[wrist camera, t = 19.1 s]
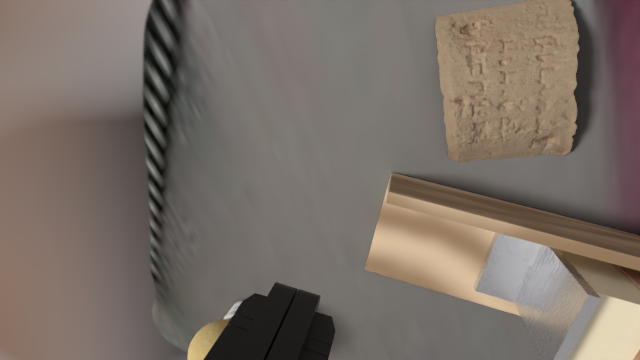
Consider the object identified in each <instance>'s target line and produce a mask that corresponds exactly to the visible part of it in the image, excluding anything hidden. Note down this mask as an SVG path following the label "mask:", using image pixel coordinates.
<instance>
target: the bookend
mask: <svg viewBox="0 0 640 360" xmlns="http://www.w3.org/2000/svg"><path fill="white" fill-rule="evenodd" d="M474 289H475V291H476V292H480V293H483V294H487V295H490V296H493V297H497V298H500V299H504V300H507V301H510V302H514V303H515V305H516V307H517V310H518V312H519V314H520V316H521V318H522V320H523V322H524V324H525V326H526V329H527V331H528V333H529V335H530V337H531V339H532V341H533V343H534V345H535V348H536V350H537V352H538V354H539V356H540V358H541V360H567V359H568V358H569V356H570V354H571V352H572V350H573V349H574V347H575V345H576V343H577V341H578V340H579V338H580V336H581V334H582V332H583V330H584V329H585V327H586V325H587V323H588V321H589V320H590V318H591V316H592V314H593V312H594V311H595V309H596V307H597V305H598V303H599V302H600V300H601V298H600V296H599V295H598V294H597V293H596V292H595V291H594V289H593V288H592V287H591V286H590V285H589V284H588V283H587V281H586V280H585V279H584V278H583V277H582V276H581V274H580V273H579V272H578V271H577V270H576V269H575V267H574V266H573V265H572V264H571V263H570V262H569V261H568V259H567V258H566V257H565V256H564V255H563V254H562V252H561V251H560V250H559V249H556V248H552V247H548V246H545V245H541V244H537V243H533V242H530V241H526V240H522V239H518V238H515V237H511V236H507V235H503V234H500V233H496V234H495V236H494V239H493V241H492V243H491V246H490V248H489V251H488V253H487V256H486V258H485V261H484V263H483V266H482V268H481V271H480V273H479V276H478V278H477V280H476V283H475V285H474Z"/></svg>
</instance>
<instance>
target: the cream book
mask: <svg viewBox="0 0 640 360" xmlns="http://www.w3.org/2000/svg"><path fill="white" fill-rule="evenodd" d="M560 251H561V252H562V254H563V255H564V256H565V257H566V258H567V259H568V261H569V262H570V263H571V264H572V265H573V266H574V267H575V269H576V270H577V271H578V272H579V273H580V274H581V276H582V277H583V278H584V279H585V280H586V281H587V283H588V284H589V285H590V286H591V287H592V288H593V289H594V291H595V292H596V293H597V294H598V295H599V296H600V298H601V300H600V302H599V303H598V305H597V307H596V309H595V311H594V312H593V314H592V316H591V318H590V320H589V321H588V323H587V325H586V327H585V329H584V330H583V332H582V334H581V336H580V338H579V340H578V341H577V343H576V345H575V347H574V349H573V350H572V352H571V354H570V356H569V358H568V359H567V360H633V359H634V358H635V356H636V354H637V353H638V351H639V350H640V289H639V288H638V287H637V286H636V285H634V284H633V283H632V282H631V281H630V280H629V279H628V278H627V277H626V276H625V275H624V274H623V273H621V272H620V271H619V270H618V269H617V268H616V267H615V266H614V265H613V264H612V263H608V262H604V261H601V260H597V259H593V258H589V257H586V256H582V255H578V254H574V253H571V252H567V251H563V250H560Z"/></svg>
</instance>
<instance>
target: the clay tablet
mask: <svg viewBox="0 0 640 360" xmlns="http://www.w3.org/2000/svg"><path fill="white" fill-rule="evenodd" d="M571 3H572V2H571V1H570V0H531V1H525V2H519V3H515V4H510V5H504V6H498V7H491V8H484V9H478V10H474V11H467V12H460V13H454V14H448V15H441V16H438V17H437V22H436V23H435V33H436V35H437V36H436V39H437V49H438V50H439V52H438V64H439V65H440V68H439V70H440V72H439V73H440V75H439V76H440V87H441V92H442V94H443V95H444V100H443V107H444V113H445V116H444V122H445V125H446V140H447V145H448V150H449V152H448V154H447V155H448V157H449V158H452V159H454V160H456V161H458V162H459V161H460V162H464V161H472V160H484V159H492V158H496V159H497V158H511V157H522V156H537V155H541V154H552V155H563V156H564V155H566V154H568V153H569V152H570V151H571V148H572V141H573V138H572V136H573V135H574V134H575V130H576V129H577V125H576V124H575V123H574V122H575V121H576V117H577V103H576V101H575V96H574V95H573V93H574V90H575V88H576V86H577V82H576V72H577V67H578V65H577V64H578V60H577V52H578V51H579V49H580V48H579V45H578V43H577V42H578V39H579V34H578V32H577V31H578V27H577V24H576V20H575V19H576V18H575V17H574V15H573V11H574V8H573V6H570V5H571Z"/></svg>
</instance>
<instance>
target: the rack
mask: <svg viewBox="0 0 640 360" xmlns="http://www.w3.org/2000/svg"><path fill="white" fill-rule="evenodd" d="M496 233H500V234H503V235H507V236H511V237H515V238H518V239H522V240H526V241H530V242H533V243H537V244H541V245H545V246H548V247H552V248H556V249H559V250H563V251H567V252H571V253H574V254H578V255H582V256H586V257H589V258H593V259H597V260H601V261H604V262H608V263H612V264H613V265H614V266H615V267H616V268H617V269H618V270H619V271H620V272H621V273H623V274H624V275H625V276H626V277H627V278H628V279H629V280H630V281H631V282H632V283H633V284H634V285H636V286H637V287H638V288H639V289H640V235H636V234H632V233H628V232H624V231H620V230H617V229H613V228H609V227H605V226H601V225H597V224H593V223H589V222H585V221H581V220H577V219H573V218H569V217H565V216H561V215H558V214H554V213H550V212H546V211H542V210H538V209H534V208H530V207H526V206H522V205H518V204H514V203H510V202H506V201H503V200H499V199H495V198H491V197H487V196H483V195H479V194H475V193H471V192H467V191H463V190H459V189H455V188H451V187H447V186H444V185H440V184H436V183H432V182H428V181H424V180H420V179H416V178H412V177H408V176H404V175H400V174H396V173H391V176H390V180H389V184H388V187H387V191H386V194H385V198H384V201H383V205H382V209H381V212H380V216H379V219H378V223H377V227H376V230H375V234H374V237H373V241H372V244H371V248H370V252H369V255H368V259H367V262H366V267H365V270H369V271H372V272H375V273H379V274H382V275H385V276H389V277H392V278H395V279H399V280H402V281H405V282H409V283H412V284H415V285H419V286H422V287H425V288H429V289H432V290H436V291H439V292H442V293H446V294H449V295H452V296H456V297H459V298H462V299H466V300H469V301H472V302H476V303H479V304H482V305H486V306H489V307H492V308H496V309H499V310H502V311H506V312H509V313H513V314H516V315H519V316H520V314H519V312H518V310H517V307H516V305H515V303H514V302H510V301H507V300H504V299H500V298H497V297H493V296H490V295H487V294H483V293H480V292H476V291H475V289H474V285H475V283H476V280H477V278H478V276H479V273H480V271H481V268H482V266H483V263H484V261H485V258H486V256H487V253H488V251H489V248H490V246H491V243H492V241H493V239H494V236H495V234H496ZM633 360H640V350H639V351H638V353H637V354H636V356H635V358H634V359H633Z"/></svg>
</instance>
